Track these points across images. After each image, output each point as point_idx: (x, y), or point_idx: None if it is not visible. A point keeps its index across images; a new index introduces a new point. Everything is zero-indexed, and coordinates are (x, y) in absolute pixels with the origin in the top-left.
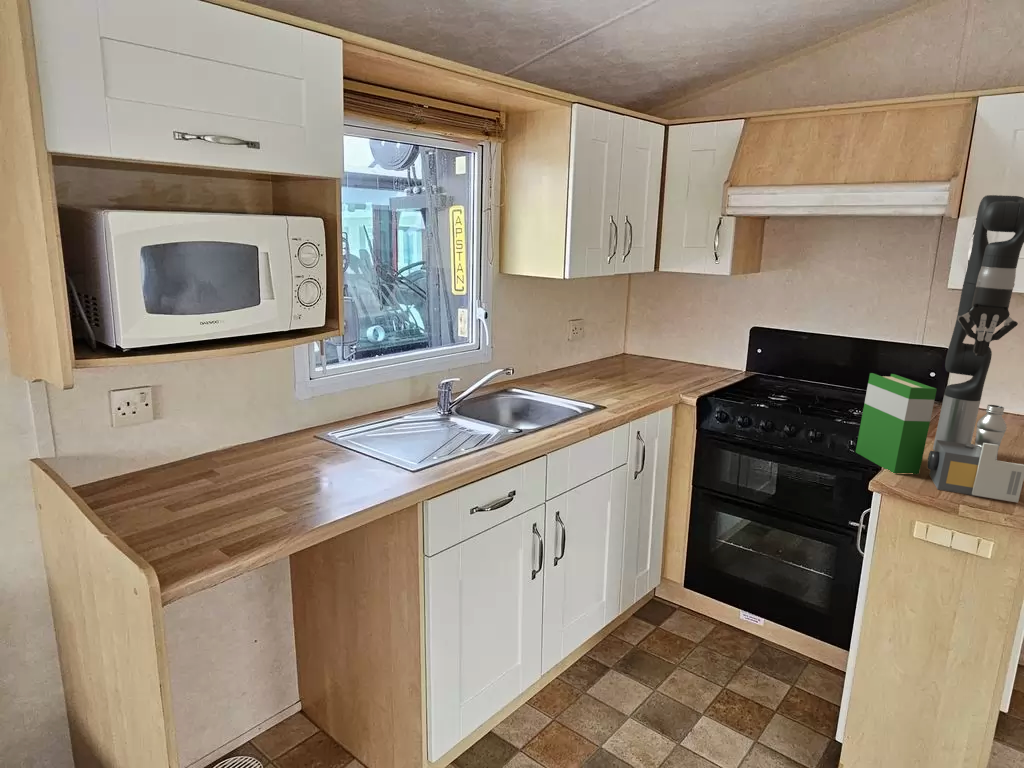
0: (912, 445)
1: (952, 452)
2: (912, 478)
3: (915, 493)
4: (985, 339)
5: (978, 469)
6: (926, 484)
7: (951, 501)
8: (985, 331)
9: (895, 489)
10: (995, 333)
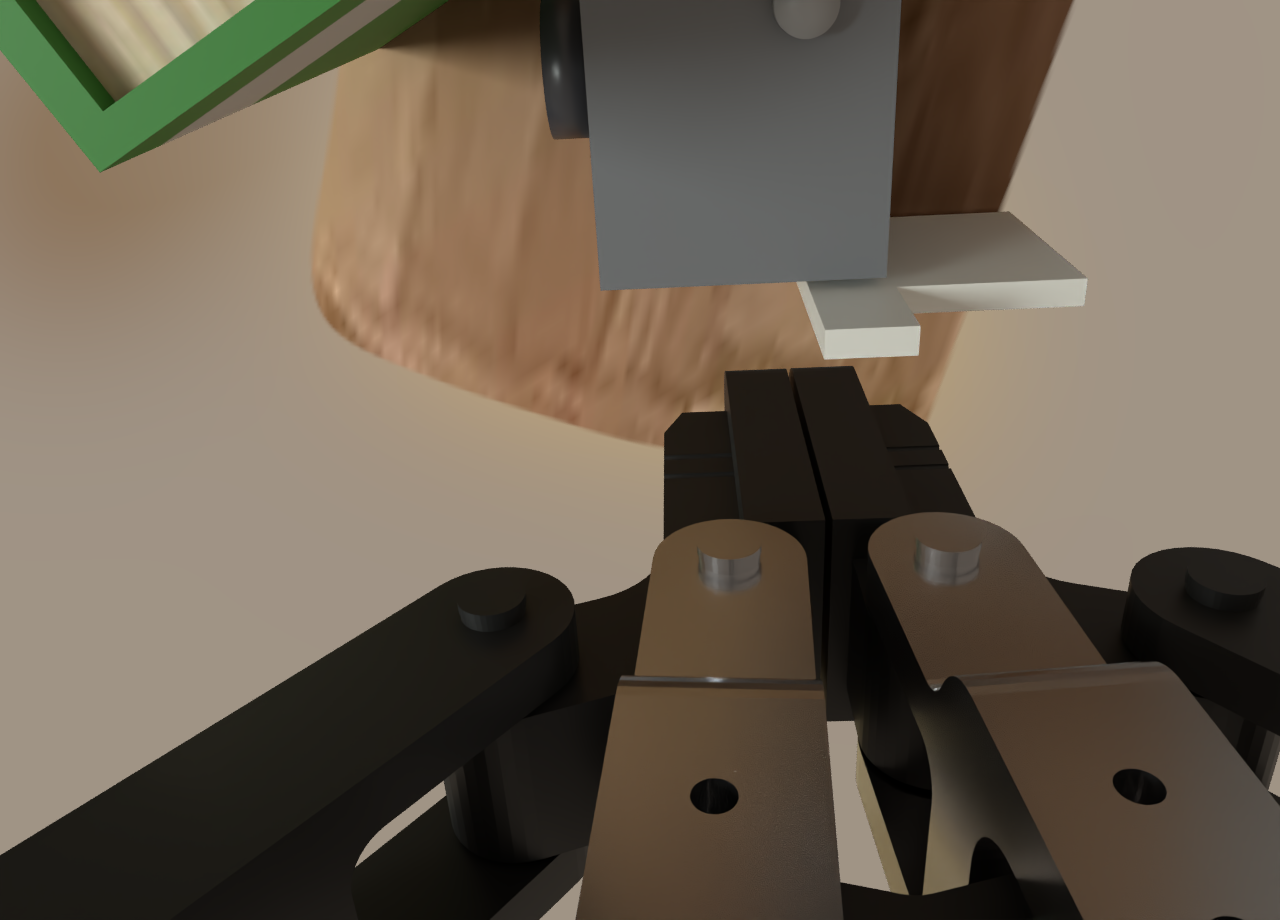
0: (409, 13)
1: (647, 263)
2: (487, 79)
3: (496, 362)
4: (861, 780)
5: (801, 292)
6: (560, 157)
7: (659, 383)
8: (929, 755)
9: (401, 357)
10: (1249, 719)
